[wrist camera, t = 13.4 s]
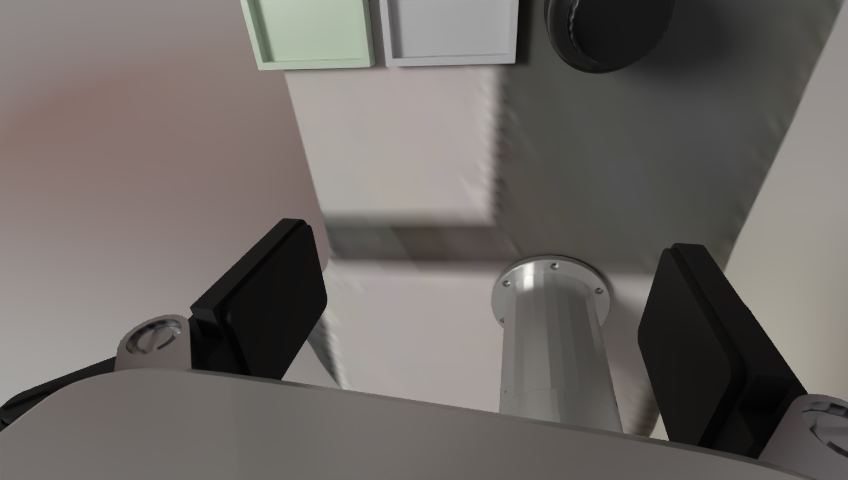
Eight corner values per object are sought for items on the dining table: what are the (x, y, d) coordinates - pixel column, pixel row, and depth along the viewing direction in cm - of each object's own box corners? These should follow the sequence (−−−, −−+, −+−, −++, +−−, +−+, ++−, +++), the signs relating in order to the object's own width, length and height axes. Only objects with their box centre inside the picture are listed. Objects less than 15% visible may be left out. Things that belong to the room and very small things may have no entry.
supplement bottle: (551, -55, 29) (566, -71, 19) (654, -55, 28) (727, -70, 18) (535, 50, 32) (540, 83, 23) (625, 55, 31) (671, 91, 22)
